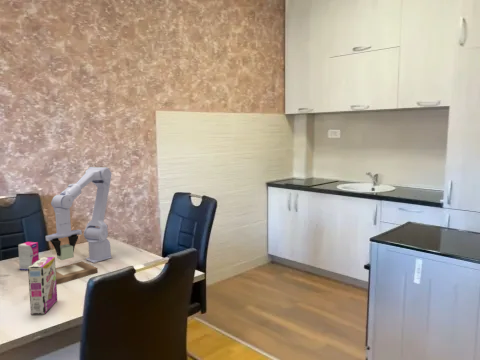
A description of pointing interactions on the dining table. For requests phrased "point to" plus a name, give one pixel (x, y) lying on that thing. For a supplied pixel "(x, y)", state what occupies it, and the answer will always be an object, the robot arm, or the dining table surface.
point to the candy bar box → (42, 285)
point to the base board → (74, 271)
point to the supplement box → (28, 254)
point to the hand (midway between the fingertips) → (65, 253)
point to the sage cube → (66, 252)
